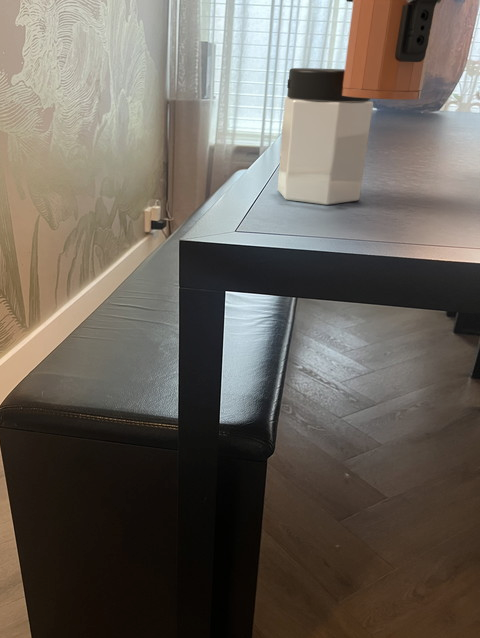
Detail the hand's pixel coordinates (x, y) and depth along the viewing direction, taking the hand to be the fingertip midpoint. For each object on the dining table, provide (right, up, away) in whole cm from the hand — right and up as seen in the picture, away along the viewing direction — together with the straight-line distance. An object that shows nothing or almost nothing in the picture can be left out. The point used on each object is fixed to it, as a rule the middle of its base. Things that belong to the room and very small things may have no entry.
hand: (385, 60), depth 50 cm
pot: (0, -2, +1) cm, 3 cm away
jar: (-3, -7, +15) cm, 16 cm away
